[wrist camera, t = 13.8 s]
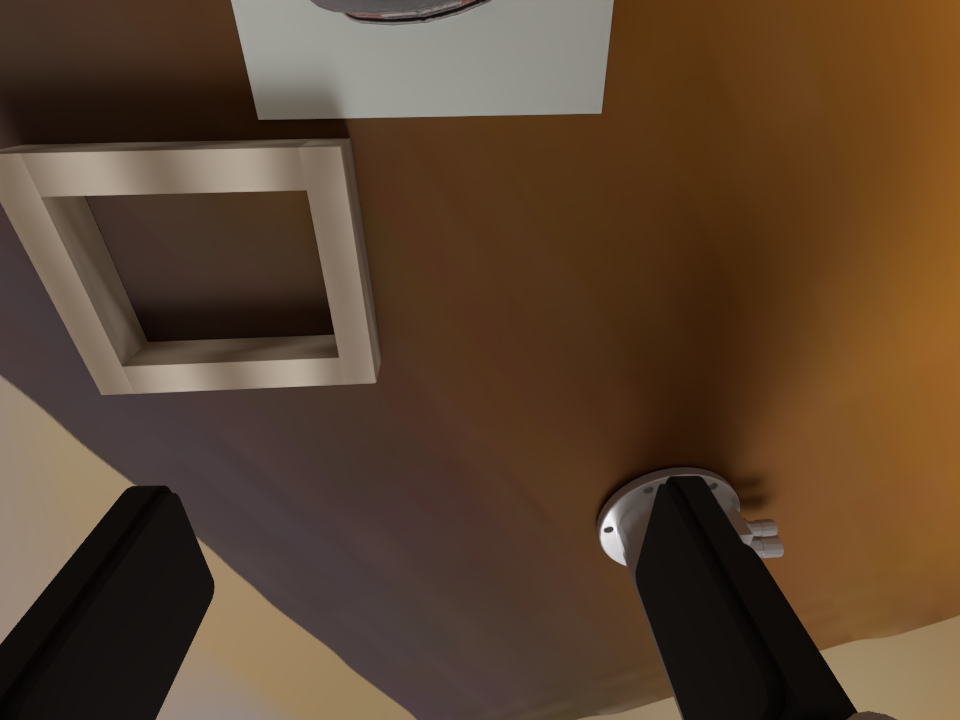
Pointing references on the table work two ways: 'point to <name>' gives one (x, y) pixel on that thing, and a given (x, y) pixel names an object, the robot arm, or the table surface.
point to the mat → (426, 61)
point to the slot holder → (191, 169)
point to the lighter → (398, 10)
